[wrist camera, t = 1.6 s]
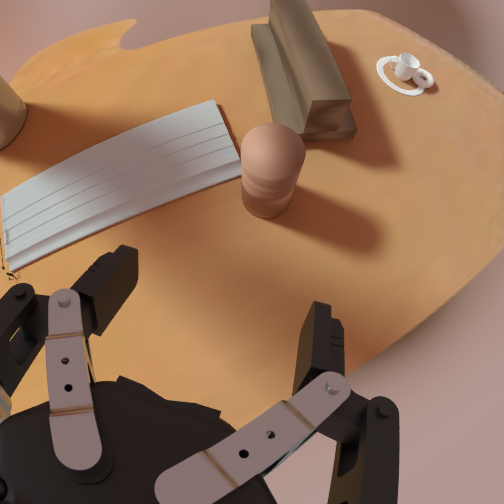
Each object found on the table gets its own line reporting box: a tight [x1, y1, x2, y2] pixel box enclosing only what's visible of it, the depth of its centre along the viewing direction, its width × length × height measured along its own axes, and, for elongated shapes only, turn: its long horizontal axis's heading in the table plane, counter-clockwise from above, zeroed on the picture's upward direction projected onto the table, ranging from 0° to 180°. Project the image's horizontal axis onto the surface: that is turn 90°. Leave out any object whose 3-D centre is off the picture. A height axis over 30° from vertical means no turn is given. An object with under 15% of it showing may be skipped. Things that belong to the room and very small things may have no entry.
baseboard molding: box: [0, 99, 242, 280], centre depth 33 cm, size 31×3×12 cm
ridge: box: [251, 0, 357, 142], centre depth 33 cm, size 9×20×8 cm, turn 9°
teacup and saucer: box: [377, 53, 434, 96], centre depth 37 cm, size 9×8×4 cm
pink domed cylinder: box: [241, 123, 306, 219], centre depth 29 cm, size 5×5×10 cm
